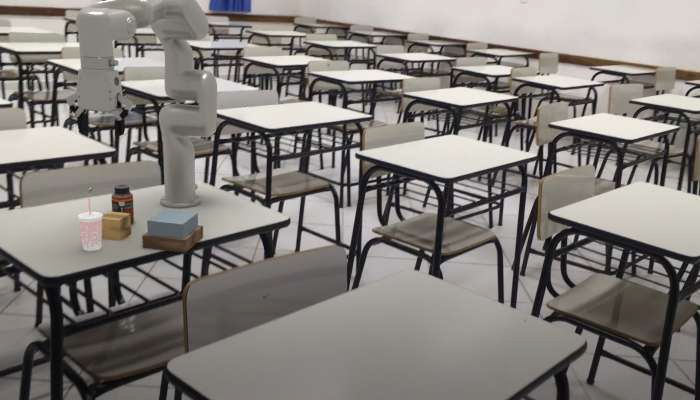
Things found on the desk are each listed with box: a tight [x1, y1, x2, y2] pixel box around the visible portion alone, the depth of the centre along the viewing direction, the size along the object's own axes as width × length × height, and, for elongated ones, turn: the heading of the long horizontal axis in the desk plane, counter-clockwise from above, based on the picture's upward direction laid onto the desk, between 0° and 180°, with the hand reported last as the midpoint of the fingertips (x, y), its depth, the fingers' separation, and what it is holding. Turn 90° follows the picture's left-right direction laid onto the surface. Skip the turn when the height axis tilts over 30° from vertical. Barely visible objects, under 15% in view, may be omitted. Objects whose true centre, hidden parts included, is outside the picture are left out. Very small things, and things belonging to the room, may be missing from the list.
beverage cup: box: [77, 196, 103, 252], centre depth 180 cm, size 6×6×14 cm
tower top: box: [146, 208, 199, 239], centre depth 187 cm, size 10×10×4 cm
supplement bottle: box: [111, 184, 135, 225], centre depth 200 cm, size 6×6×11 cm
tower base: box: [141, 224, 204, 254], centre depth 188 cm, size 12×12×4 cm
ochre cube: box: [102, 211, 132, 242], centre depth 190 cm, size 6×6×6 cm
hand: (101, 133), depth 171 cm, fingers open, 9 cm apart
